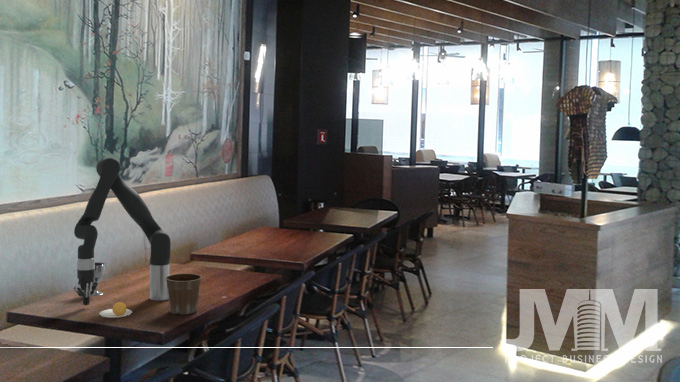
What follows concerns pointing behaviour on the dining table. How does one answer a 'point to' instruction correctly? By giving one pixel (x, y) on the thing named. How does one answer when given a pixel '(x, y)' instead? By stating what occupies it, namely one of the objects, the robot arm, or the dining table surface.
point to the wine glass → (98, 276)
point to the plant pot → (183, 293)
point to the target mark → (110, 313)
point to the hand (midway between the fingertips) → (86, 304)
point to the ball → (119, 308)
